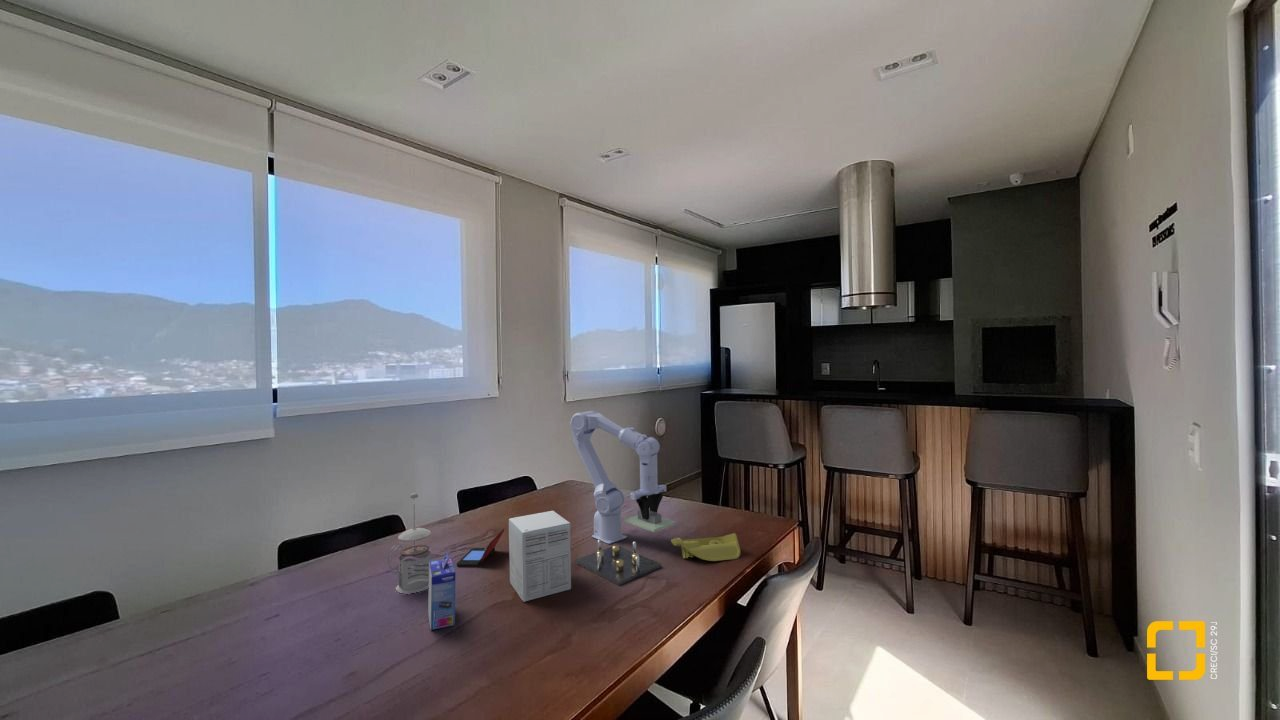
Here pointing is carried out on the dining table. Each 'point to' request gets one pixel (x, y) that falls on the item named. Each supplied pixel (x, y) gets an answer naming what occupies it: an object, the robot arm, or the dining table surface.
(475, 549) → the handheld game console
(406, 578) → the french press
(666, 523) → the board
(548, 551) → the supplement box
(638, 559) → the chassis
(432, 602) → the ink cartridge box
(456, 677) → the dining table surface
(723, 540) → the plastic component
